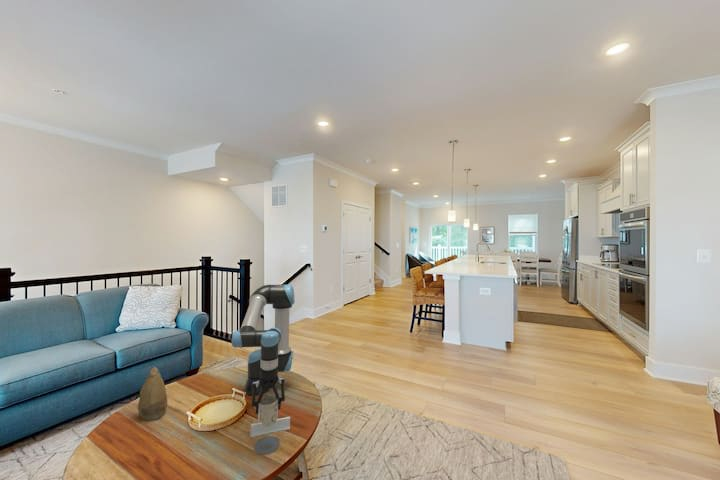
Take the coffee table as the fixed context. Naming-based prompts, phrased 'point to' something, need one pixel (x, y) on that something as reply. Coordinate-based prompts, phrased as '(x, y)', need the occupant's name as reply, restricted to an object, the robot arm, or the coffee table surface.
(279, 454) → the coffee table surface
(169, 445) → the coffee table surface
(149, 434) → the coffee table surface
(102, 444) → the coffee table surface
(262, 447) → the coaster
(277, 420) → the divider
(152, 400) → the sculpture
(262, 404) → the mug
